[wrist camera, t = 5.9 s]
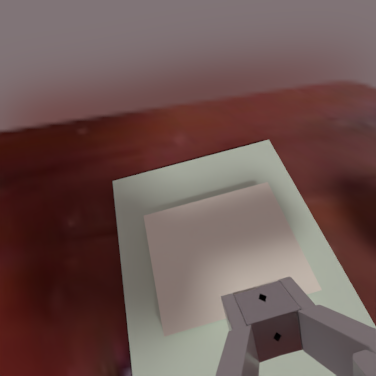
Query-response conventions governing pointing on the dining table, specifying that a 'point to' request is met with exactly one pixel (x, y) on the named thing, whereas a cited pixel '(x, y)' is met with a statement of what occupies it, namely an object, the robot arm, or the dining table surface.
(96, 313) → the dining table surface
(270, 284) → the robot arm
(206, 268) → the tile
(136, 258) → the mat
